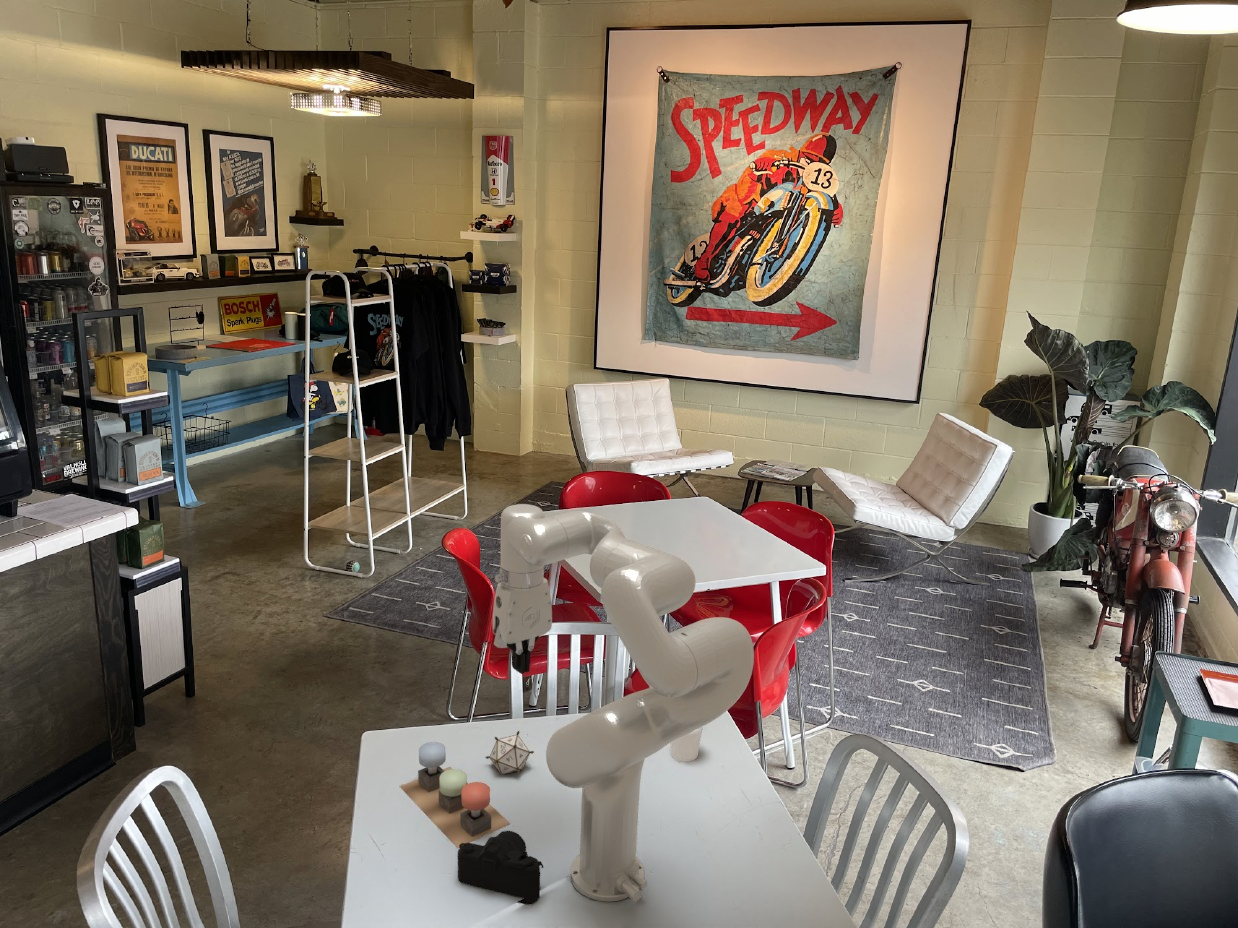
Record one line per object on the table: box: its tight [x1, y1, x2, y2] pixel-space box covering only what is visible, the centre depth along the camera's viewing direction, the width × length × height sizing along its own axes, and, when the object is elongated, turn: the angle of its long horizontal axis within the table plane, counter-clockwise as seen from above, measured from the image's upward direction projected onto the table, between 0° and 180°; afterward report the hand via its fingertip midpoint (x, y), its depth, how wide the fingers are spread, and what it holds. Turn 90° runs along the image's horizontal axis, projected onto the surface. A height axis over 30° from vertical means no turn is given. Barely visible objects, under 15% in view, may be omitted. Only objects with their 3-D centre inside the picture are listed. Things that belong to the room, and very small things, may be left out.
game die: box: [484, 730, 535, 775], centre depth 185 cm, size 9×8×10 cm
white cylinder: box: [670, 726, 703, 763], centre depth 194 cm, size 7×7×7 cm
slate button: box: [418, 741, 447, 774], centre depth 178 cm, size 5×5×5 cm
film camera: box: [456, 830, 544, 906], centre depth 156 cm, size 15×10×9 cm, turn 74°
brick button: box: [462, 781, 491, 817], centre depth 167 cm, size 5×5×5 cm
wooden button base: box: [399, 765, 511, 849], centre depth 174 cm, size 22×11×4 cm, turn 39°
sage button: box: [440, 768, 468, 798], centre depth 173 cm, size 5×5×5 cm
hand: (520, 669), depth 167 cm, fingers closed
